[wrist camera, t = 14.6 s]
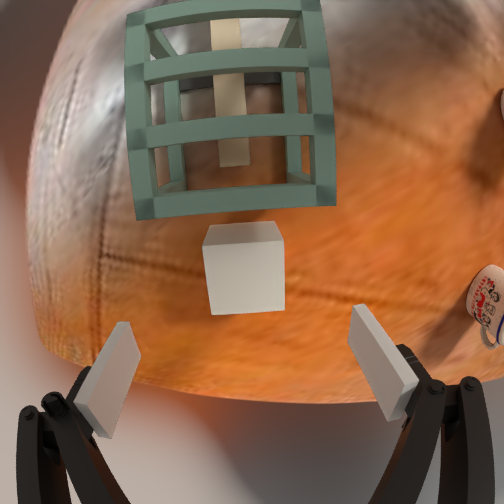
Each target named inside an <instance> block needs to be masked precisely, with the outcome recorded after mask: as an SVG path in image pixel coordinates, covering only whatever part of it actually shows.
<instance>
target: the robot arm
mask: <svg viewBox="0 0 504 504" xmlns="http://www.w3.org/2000/svg"><path fill="white" fill-rule="evenodd" d="M348 344H349V346H350V348H351V350H352V352H353V354H354V356H355V357H356V359H357V361H358V363H359V365H360V367H361V369H362V371H363V373H364V375H365V377H366V379H367V381H368V383H369V385H370V387H371V389H372V391H373V393H374V395H375V397H376V399H377V401H378V403H379V405H380V407H381V409H382V411H383V413H384V415H385V417H386V419H387V421H388V422H389V421H392V420H395V419H398V418H401V416H402V415H403V413H404V411H406V413H407V415H408V416H407V418H406V420H405V422H404V424H403V425H402V428H403V429H402V432H401V435H400V437H399V439H398V442H397V444H396V447H395V449H394V452H393V454H392V457H391V459H390V461H389V463H388V465H387V468H386V470H385V472H384V474H383V476H382V478H381V480H380V482H379V484H378V486H377V488H376V490H375V492H374V494H373V496H372V497H371V499H370V501H369V503H368V504H415V503H416V501H417V498H418V496H419V494H420V491H421V489H422V486H423V483H424V480H425V478H426V475H427V472H428V469H429V466H430V463H431V460H432V456H433V453H434V450H435V446H436V443H437V439H438V435H439V431H440V427H441V467H440V468H441V469H440V484H439V495H438V504H494V500H495V478H494V458H493V447H492V439H491V431H490V425H489V418H488V413H487V408H486V403H485V399H484V393H483V389H482V385H481V383H480V381H479V380H478V379H477V378H475V377H471V376H467V377H464V378H463V379H462V380H461V382H460V384H458V385H445V384H444V383H443V382H442V381H439V380H436V379H432V378H431V377H430V375H429V374H428V372H427V371H426V370H425V368H424V367H423V366H422V364H421V363H420V361H418V359H417V357H416V356H415V355H414V353H413V352H412V351H411V349H410V348H408V347H407V346H405V345H404V344H400V345H396V346H395V344H394V343H393V342H392V340H391V339H390V338H389V336H388V335H387V333H386V332H385V331H384V329H383V328H382V327H381V325H380V324H379V322H378V321H377V320H376V318H375V317H374V316H373V314H372V313H371V312H370V310H369V309H368V308H367V306H366V305H365V304H359V305H353V308H352V315H351V322H350V329H349V335H348ZM140 359H141V354H140V351H139V349H138V346H137V343H136V340H135V338H134V335H133V332H132V329H131V326H130V323H129V322H123V321H118V323H117V324H116V326H115V328H114V329H113V331H112V333H111V334H110V336H109V338H108V339H107V341H106V343H105V344H104V346H103V348H102V350H101V351H100V353H99V355H98V357H97V359H96V360H95V362H94V364H93V366H92V367H91V366H86V367H85V368H84V369H83V370H82V371H81V372H80V374H79V376H78V377H77V380H76V381H75V383H74V385H73V386H72V388H71V390H70V392H69V394H68V396H67V397H66V399H64V397H63V396H62V394H60V393H59V392H50V393H48V394H46V395H45V396H44V397H43V399H42V401H41V406H42V407H43V408H44V410H45V411H46V412H39V411H38V410H37V408H36V407H34V406H31V405H29V406H26V407H25V408H23V409H22V410H21V412H20V415H19V422H18V433H17V452H16V479H17V496H18V504H72V503H71V498H70V492H69V487H68V481H67V474H66V469H67V472H68V474H69V477H70V479H71V482H72V484H73V486H74V488H75V491H76V493H77V495H78V497H79V499H80V501H81V503H82V504H131V503H130V502H129V501H128V499H127V497H126V496H125V494H124V493H123V491H122V490H121V488H120V486H119V485H118V483H117V481H116V479H115V478H114V476H113V474H112V473H111V471H110V469H109V467H108V465H107V464H106V462H105V460H104V458H103V456H102V454H101V452H100V450H99V448H98V446H97V444H96V442H95V439H94V438H93V437H92V433H93V431H95V432H96V434H97V435H98V436H99V437H104V438H109V439H112V436H113V433H114V429H115V427H116V424H117V421H118V418H119V415H120V412H121V409H122V406H123V404H124V401H125V398H126V396H127V393H128V390H129V387H130V385H131V382H132V379H133V377H134V374H135V372H136V369H137V366H138V364H139V361H140Z"/></svg>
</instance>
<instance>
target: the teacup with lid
mask: <svg viewBox="0 0 504 504" xmlns="http://www.w3.org/2000/svg"><path fill="white" fill-rule="evenodd" d="M466 308H467V311H468V313H469V314H470V315H471V316H472V317H474V318H475V319H476V320H477V321H478V322H479V323H480V324H481V329H480V335H481V339H482V342H483V344H484V345H485V347H486V348H488V349H490V350H492V349H495V348H496V347H498V346H499V344H500V345H504V270H502V269H501V268H499V267H498V266H496V265H488V266H486V267H485V268H483V269H482V270H481V271H480V272H479V273H478V275H477V276H476V277H475V279H474V281H473V282H472V284H471V286H470V289H469V291H468V295H467V299H466ZM486 330H487V331H488V332H489V333H490V334H491V335H492V336H493V337H494V338H496V341H495V343H494V344H492V343H491V342H490V341H489V339H488V337H487V334H486Z"/></svg>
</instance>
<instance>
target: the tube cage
mask: <svg viewBox="0 0 504 504" xmlns="http://www.w3.org/2000/svg"><path fill="white" fill-rule="evenodd" d="M234 18H290V20H289V22H288V24H287V27H286V29H285V32H284V34H283V36H282V39H281V41H280V44H279V46H278V48H239V49H225V50H215V51H206V52H198V53H191V54H184V55H178V54H177V53H176V52H175V50H174V49H173V47H172V46H171V44H170V43H169V41H168V40H167V38H166V37H165V36H164V34H163V33H162V31H161V30H160V29H161V28H166V27H171V26H177V25H182V24H188V23H195V22H203V21H211V20H221V19H234ZM300 45H301V47H302V48H299V47H300ZM150 53H151V54H152V55H153V56H154V57H155V58H156V59H157V60H152V61H150ZM279 72H280V75H279ZM296 72H304V76H305V87H306V99H307V113H308V114H304V113H299V107H298V94H297V82H296ZM233 73H244V85H246V84H280V82H281V95H282V109H283V113H281V114H252V115H236V116H223V117H213V118H204V119H195V120H188V121H182V119H181V102H180V91H186V90H193V89H201V88H209V87H214V82H213V75H221V74H233ZM159 83H164V106H165V123H166V124H161V125H156V126H152V113H151V90H150V85H154V84H159ZM124 89H125V119H126V135H127V148H128V158H129V168H130V177H131V185H132V193H133V200H134V207H135V213H136V219H137V221H139V220H148V219H157V218H166V217H176V216H186V215H197V214H208V213H220V212H232V211H246V210H260V209H276V208H295V207H316V206H336V145H335V125H334V109H333V96H332V85H331V75H330V66H329V57H328V49H327V42H326V35H325V28H324V22H323V16H322V10H321V5H320V0H189V1H183V2H177V3H172V4H167V5H162V6H158V7H153V8H149V9H145V10H141V11H138V12H134V13H131V14H127V22H126V37H125V65H124ZM271 136H284V141H285V160H286V182H287V184H267V185H251V186H237V187H224V188H213V189H202V190H192V191H188V190H187V180H186V170H185V159H184V147H183V144H186V143H194V142H203V141H212V140H223V139H235V138H250V137H271ZM300 136H309V149H310V175H309V174H306V173H304V172H302V162H301V140H300ZM165 146H167V150H168V161H169V172H170V181H171V182H169V183H167V184H165V185H163V186H161V187H159V188H158V184H157V175H156V165H155V155H154V148H158V147H165Z"/></svg>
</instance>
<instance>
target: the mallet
mask: <svg viewBox="0 0 504 504" xmlns="http://www.w3.org/2000/svg"><path fill="white" fill-rule="evenodd" d="M210 26H211V47H212V51H215V50H225V49H239V48H241V36H240V24H239V18H234V19H221V20H211V21H210ZM213 82H214V98H215V112H216V117H223V116H236V115H247V111H246V98H245V86H244V73H233V74H221V75H213ZM218 151H219V163H220V167H231V166H242V165H251V164H250V151H249V138H235V139H223V140H218Z"/></svg>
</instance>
